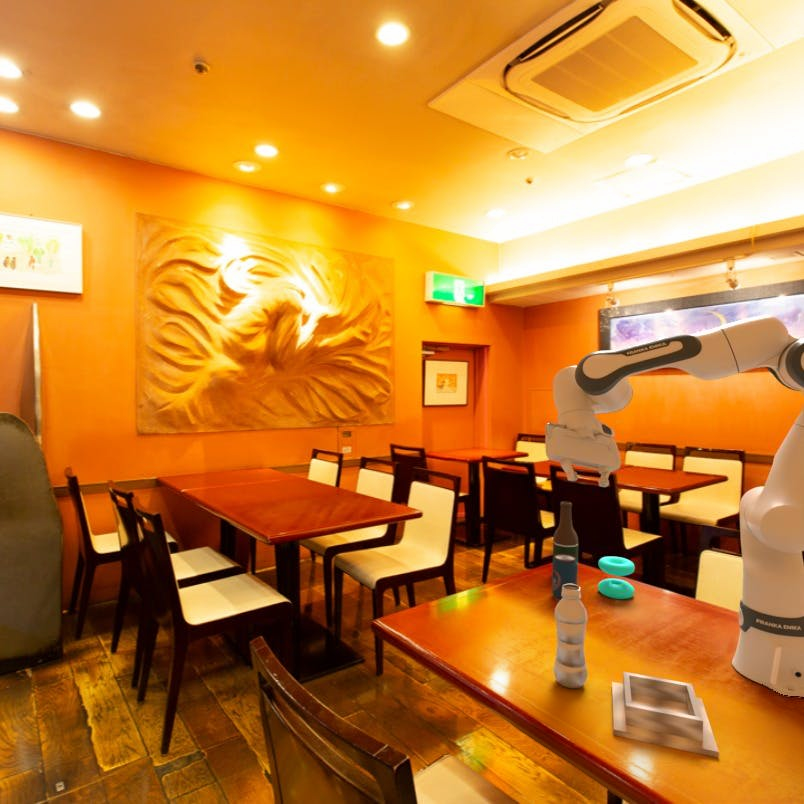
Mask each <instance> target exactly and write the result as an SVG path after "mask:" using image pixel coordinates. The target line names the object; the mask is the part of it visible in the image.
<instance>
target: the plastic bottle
mask: <svg viewBox="0 0 804 804" xmlns="http://www.w3.org/2000/svg"><path fill="white" fill-rule="evenodd" d="M581 591H582V590H581V586H579V585H578V584H577V585H573V584H565V585H563V586H562V593H561V596H562V597H563V598H562V599H561V600H560V601H559V600H558V603H557V604H556V606H555V608H554V619H555V626H556V627H555V628H556V638H557V639H556V640H557V641H556V643H557V644H556V653H555V661H554V665H553V673H554V678H555V679H556V681H557V683H558V684H559V685H561V686H563V687H565V688H569V689H580V688H581V687H583V686H584V685H585V684H586V683H587V679H588V669H587V668H588V667H587V663H586V654H585V639H586V638H585V637H586V628H587V622H588V612H587V609H586V607H585V606H584V604H583V603H582V601H581V600H580V599H581V598H582V594H581V593H582V592H581Z"/></svg>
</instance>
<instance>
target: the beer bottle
mask: <svg viewBox="0 0 804 804" xmlns="http://www.w3.org/2000/svg"><path fill="white" fill-rule="evenodd" d="M559 506H560V513H559V514H560V515H559V524H558V527H557V528H556V530H555V531H554V534H553V537H552V539H553V540H552V561H553V560H554V558H555V555H558V554H567V555H572V556H574V557H575V558H576V559H575V560H576V562H577V564H578V565H579V536H578V534H577V532H576V530H575V528H574V526H573V518H572V517H573V515H572V507H573V503H572V502H570V501H560V504H559ZM578 575H579V571H578V572H577V577H578Z"/></svg>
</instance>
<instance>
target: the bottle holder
mask: <svg viewBox="0 0 804 804" xmlns="http://www.w3.org/2000/svg"><path fill="white" fill-rule="evenodd" d="M622 675H623V677H622V678H623V681H622V683H620V682H615V681H611V692H612V693H611V695H612V697H611V698H612V722H613V723H612V725H613V728H612V729H613V736H616V737H617V736H618V737H620V738H626V739H631V740H636V741H640V742H645V743H649V744H654V745H658V746H659V745H660V746H663V747H667V748H672V749H676V750H681V751H686V752H688V753H689V752H690V753H695V754H697V755H698V754H699V755H704V756H707V755H708V756H709V757H712V756H714V757H713V758H716V757H719V758H720V756H719V755H720V752H719V748H718V745H717V742H716V739H715V737H714V733H713V730H712V727H711V724H710V720H709V718H708V717H709V716H708V715H707V711H706V708H705V705H704V701H703V699H702V698H701V697H696V693H695V689H694V687H693V684H692V683H688V682H682V681H677V680H671V679H665V678H660V677H654V676H648V675H645V674H643V675H642V674H638V673H632V672H627V671H623V674H622Z"/></svg>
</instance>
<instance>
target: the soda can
mask: <svg viewBox="0 0 804 804" xmlns="http://www.w3.org/2000/svg"><path fill="white" fill-rule="evenodd" d="M575 559H576V558H575V557H574V556H572V555H567V554H558V555H555V558H554V560H553V559H552V578H551V579H552V582H551V585H552V586H551V588H552V590H551V593H552V595H553V597H554V599H555V600H556V601H558V602H559V601H560V600H561V599H562V598H563V597H562V596H561V593H562V586H563V585H565V584H573V585H577V586H578V576H577V572H578V573H579V563H578V564H577V562H576V560H575Z"/></svg>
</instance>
